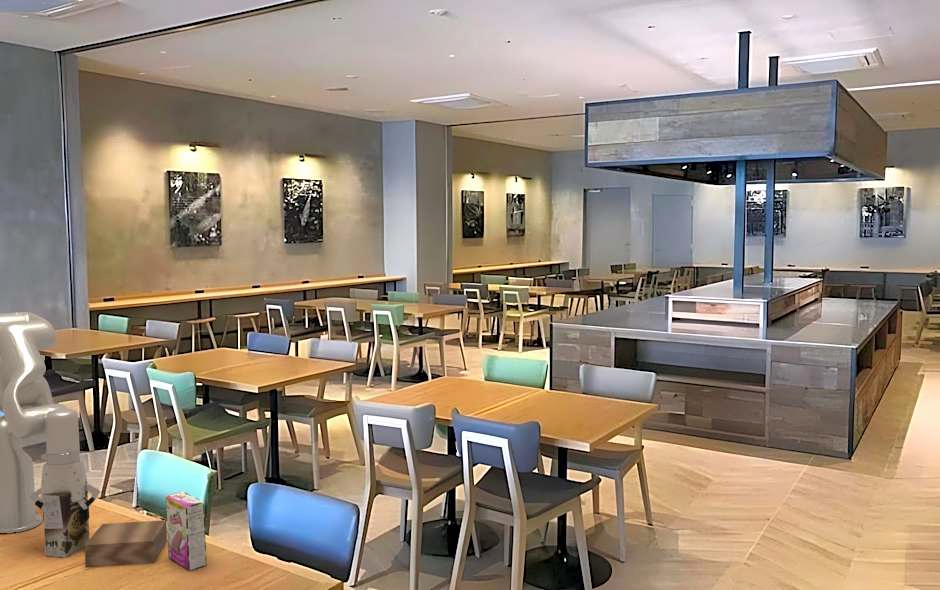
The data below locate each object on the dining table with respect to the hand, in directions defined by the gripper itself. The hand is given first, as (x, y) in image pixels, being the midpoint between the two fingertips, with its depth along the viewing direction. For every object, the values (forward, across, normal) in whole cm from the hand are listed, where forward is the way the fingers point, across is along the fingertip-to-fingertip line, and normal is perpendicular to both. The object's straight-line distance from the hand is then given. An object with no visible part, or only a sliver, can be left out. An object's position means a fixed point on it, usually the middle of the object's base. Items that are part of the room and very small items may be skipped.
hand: (66, 523), depth 199 cm
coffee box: (+7, 0, 0) cm, 7 cm away
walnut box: (+7, +16, -5) cm, 18 cm away
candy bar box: (+7, +32, -13) cm, 35 cm away
